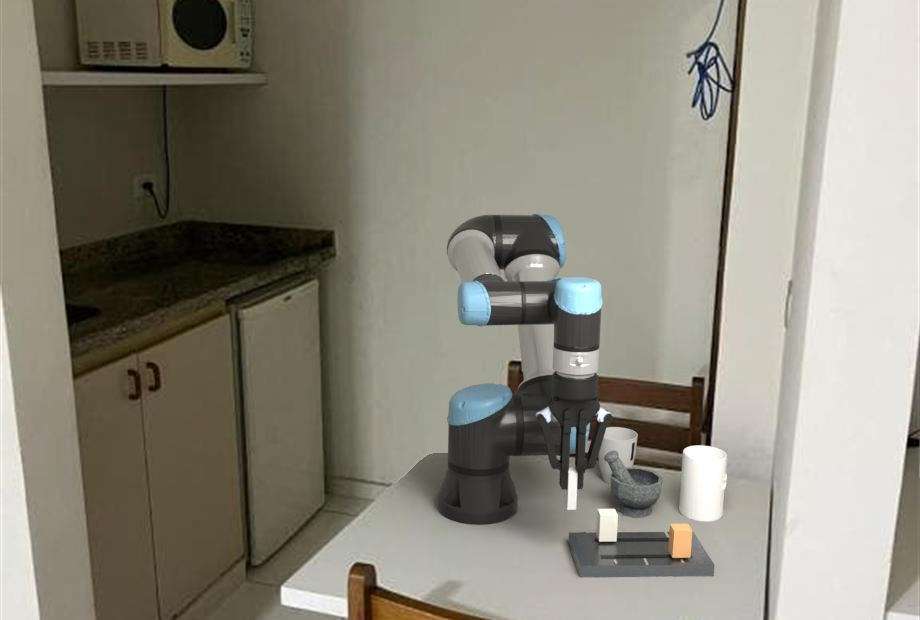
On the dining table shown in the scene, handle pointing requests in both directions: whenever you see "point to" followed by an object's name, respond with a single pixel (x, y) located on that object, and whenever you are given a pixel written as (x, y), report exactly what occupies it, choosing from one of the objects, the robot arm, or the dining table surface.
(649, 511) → the mortar and pestle
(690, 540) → the fader
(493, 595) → the dining table surface
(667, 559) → the console
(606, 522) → the fader
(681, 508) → the mug
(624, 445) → the cup
